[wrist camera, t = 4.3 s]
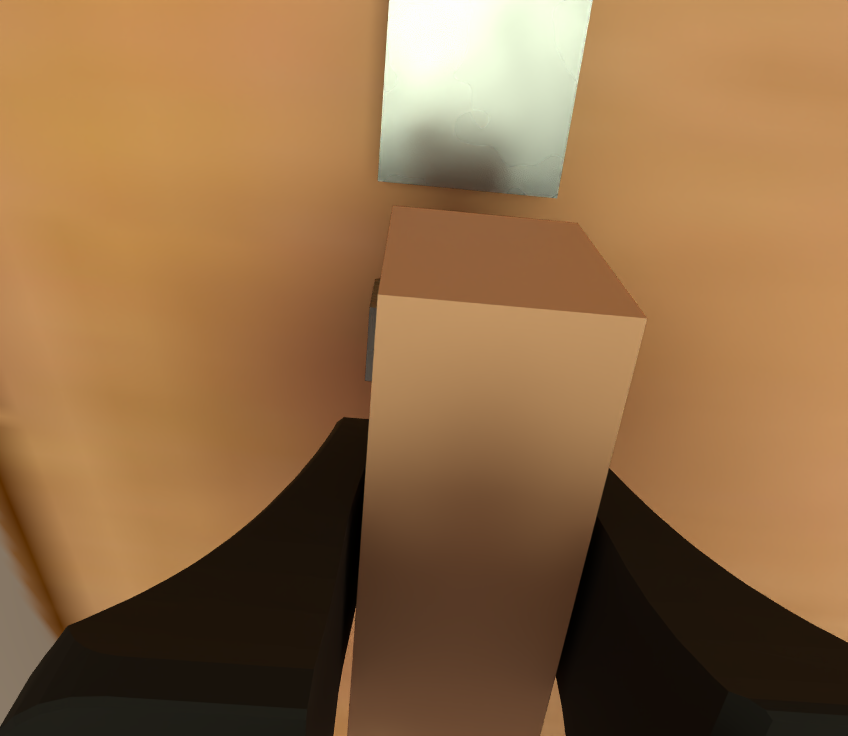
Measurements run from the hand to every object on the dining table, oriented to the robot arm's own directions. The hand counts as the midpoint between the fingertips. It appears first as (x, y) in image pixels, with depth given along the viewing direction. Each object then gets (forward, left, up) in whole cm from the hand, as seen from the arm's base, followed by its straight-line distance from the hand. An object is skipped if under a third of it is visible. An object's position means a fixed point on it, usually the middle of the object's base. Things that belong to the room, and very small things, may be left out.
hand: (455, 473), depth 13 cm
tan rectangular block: (+1, 0, -3) cm, 3 cm away
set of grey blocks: (0, 0, -7) cm, 7 cm away
